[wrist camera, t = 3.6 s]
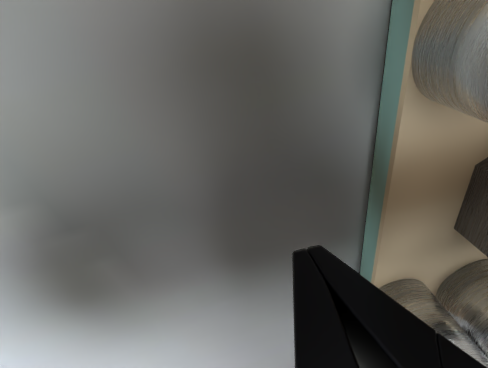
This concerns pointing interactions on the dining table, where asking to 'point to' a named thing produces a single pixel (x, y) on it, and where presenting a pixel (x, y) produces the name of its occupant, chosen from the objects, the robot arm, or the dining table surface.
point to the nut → (475, 209)
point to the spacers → (480, 107)
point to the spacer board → (417, 171)
